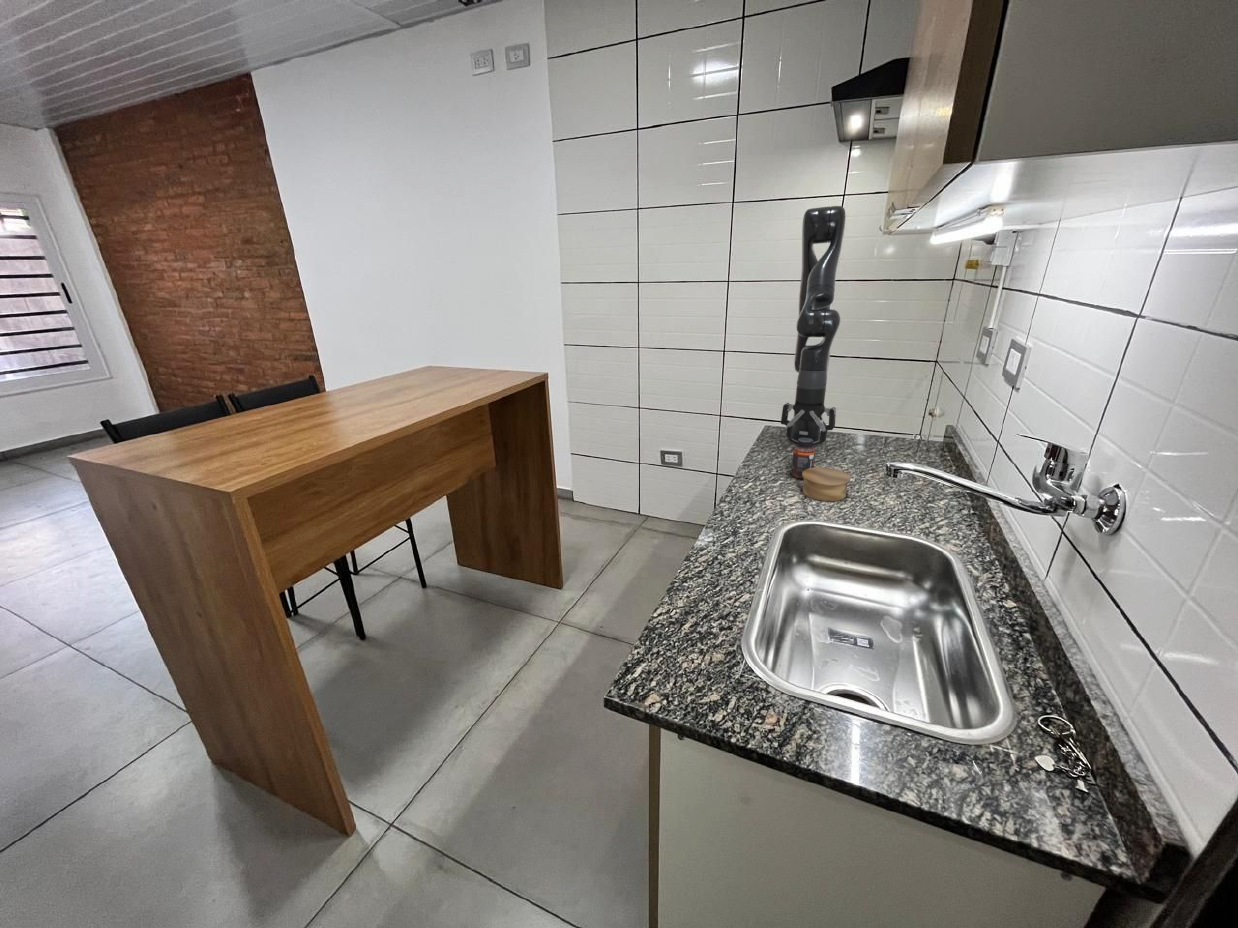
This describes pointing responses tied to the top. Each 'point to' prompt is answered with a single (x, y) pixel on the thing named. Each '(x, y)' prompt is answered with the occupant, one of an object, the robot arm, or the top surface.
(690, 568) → the top surface
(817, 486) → the stand
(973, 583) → the top surface
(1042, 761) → the top surface
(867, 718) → the top surface
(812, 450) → the supplement bottle
